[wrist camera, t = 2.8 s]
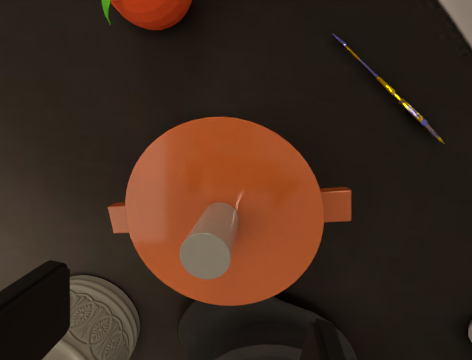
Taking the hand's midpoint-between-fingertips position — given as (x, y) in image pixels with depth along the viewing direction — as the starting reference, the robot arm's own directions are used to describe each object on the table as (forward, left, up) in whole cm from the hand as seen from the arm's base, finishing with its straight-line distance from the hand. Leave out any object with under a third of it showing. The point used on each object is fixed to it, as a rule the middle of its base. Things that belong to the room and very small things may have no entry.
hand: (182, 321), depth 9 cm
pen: (-12, +12, -17) cm, 24 cm away
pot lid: (0, 0, -10) cm, 10 cm away
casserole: (+20, +8, -18) cm, 28 cm away
